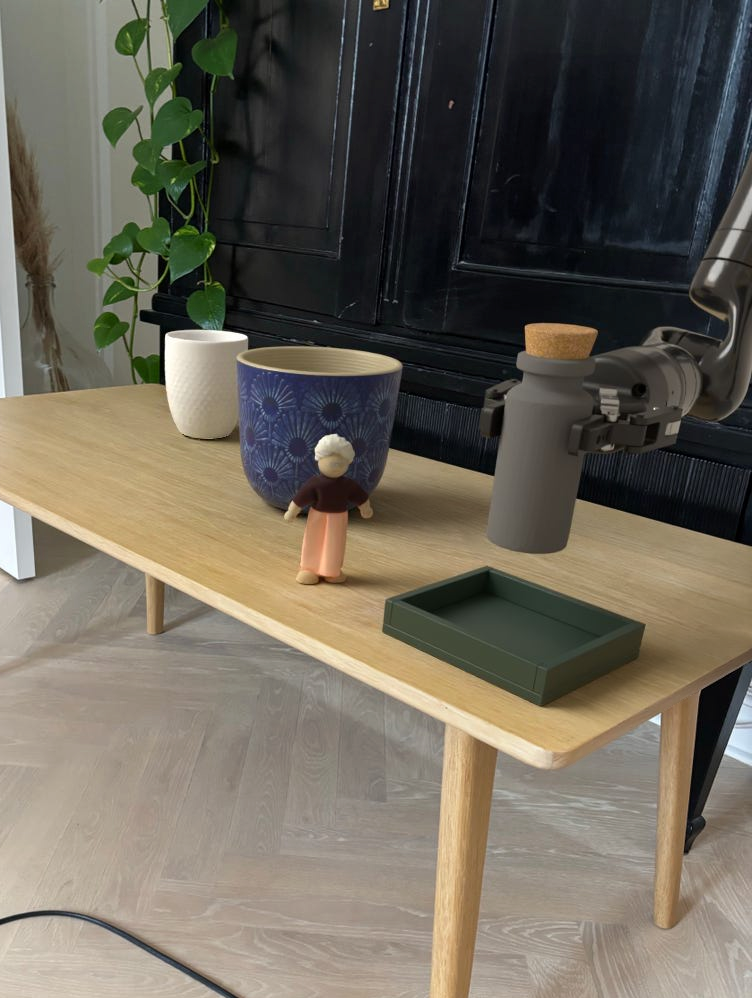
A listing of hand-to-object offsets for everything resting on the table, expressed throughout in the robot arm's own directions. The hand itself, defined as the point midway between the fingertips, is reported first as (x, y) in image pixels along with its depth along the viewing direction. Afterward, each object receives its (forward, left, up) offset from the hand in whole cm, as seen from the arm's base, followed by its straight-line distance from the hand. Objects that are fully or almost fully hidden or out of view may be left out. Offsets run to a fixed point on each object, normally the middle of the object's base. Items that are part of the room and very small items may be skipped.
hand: (530, 431), depth 64 cm
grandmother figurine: (+18, 0, -17) cm, 25 cm away
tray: (0, -2, -17) cm, 17 cm away
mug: (+67, -24, -17) cm, 73 cm away
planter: (+35, -14, -17) cm, 41 cm away
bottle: (+1, -3, -9) cm, 9 cm away
